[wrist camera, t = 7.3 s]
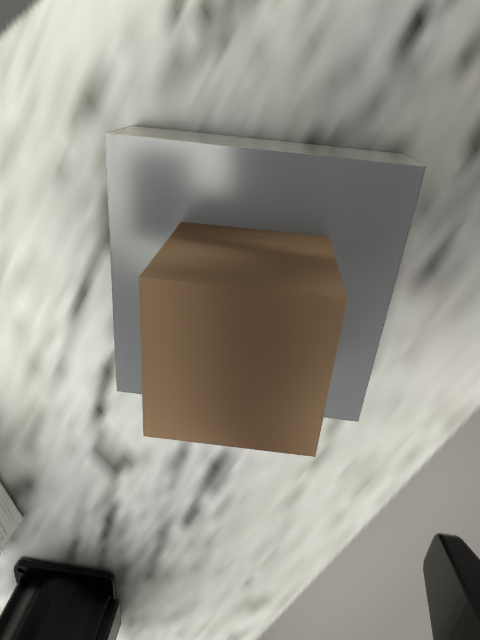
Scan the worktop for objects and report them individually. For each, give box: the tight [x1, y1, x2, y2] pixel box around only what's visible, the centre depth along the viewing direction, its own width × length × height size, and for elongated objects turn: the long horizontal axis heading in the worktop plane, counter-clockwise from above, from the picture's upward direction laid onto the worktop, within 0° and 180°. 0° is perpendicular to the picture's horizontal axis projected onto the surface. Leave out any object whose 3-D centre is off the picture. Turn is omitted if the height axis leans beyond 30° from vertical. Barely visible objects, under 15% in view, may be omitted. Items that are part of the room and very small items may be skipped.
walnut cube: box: [139, 222, 347, 457], centre depth 14 cm, size 5×5×5 cm
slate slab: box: [105, 126, 426, 422], centre depth 18 cm, size 10×10×3 cm
